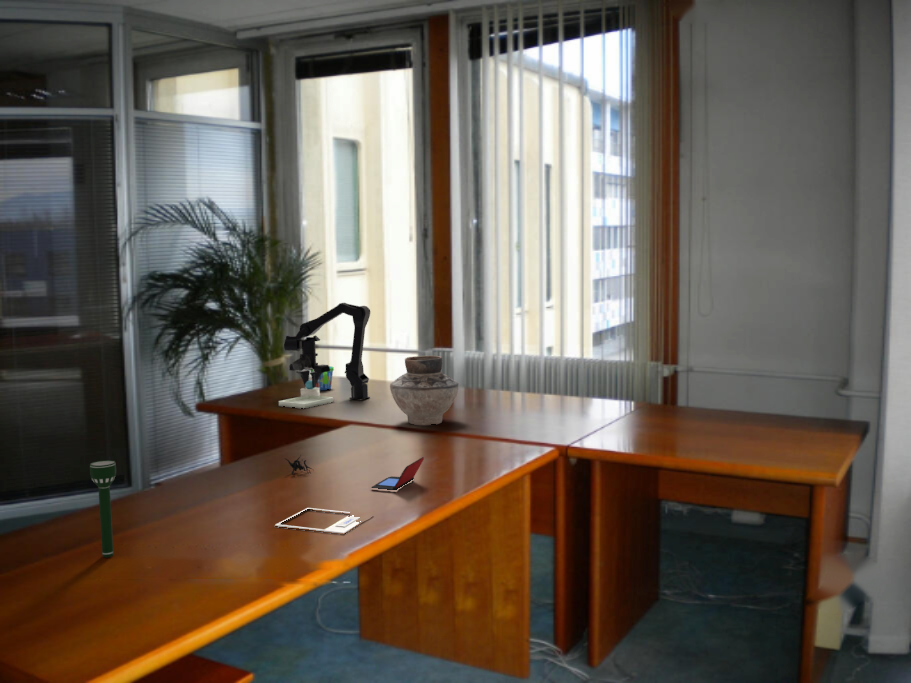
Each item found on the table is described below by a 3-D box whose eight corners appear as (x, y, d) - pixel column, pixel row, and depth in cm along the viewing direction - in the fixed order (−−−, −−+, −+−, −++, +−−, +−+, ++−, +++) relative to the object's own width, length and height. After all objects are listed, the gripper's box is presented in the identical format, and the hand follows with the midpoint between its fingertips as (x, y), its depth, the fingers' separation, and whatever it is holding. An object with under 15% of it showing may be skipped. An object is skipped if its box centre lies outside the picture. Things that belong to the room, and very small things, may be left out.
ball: (316, 389, 393) (316, 380, 392) (310, 390, 389) (310, 381, 389) (309, 388, 395) (309, 379, 394) (303, 389, 392) (303, 380, 391)
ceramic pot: (381, 427, 324) (380, 361, 321) (402, 415, 348) (400, 353, 345) (449, 430, 318) (448, 362, 316) (465, 417, 342) (465, 353, 340)
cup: (323, 397, 394) (323, 387, 393) (310, 399, 387) (310, 390, 386) (309, 395, 398) (309, 386, 398) (297, 398, 391) (296, 388, 391)
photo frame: (343, 531, 203) (274, 524, 209) (344, 536, 203) (275, 528, 210) (373, 513, 216) (307, 506, 223) (373, 518, 216) (307, 511, 223)
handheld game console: (389, 480, 251) (389, 453, 251) (425, 483, 248) (425, 456, 247) (369, 491, 240) (368, 464, 239) (406, 495, 236) (406, 466, 235)
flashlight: (124, 551, 194) (119, 459, 192) (116, 560, 189) (110, 465, 187) (100, 552, 194) (94, 460, 191) (91, 560, 188) (85, 466, 186)
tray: (334, 402, 380) (333, 397, 379) (304, 408, 365) (303, 403, 365) (309, 399, 387) (309, 394, 387) (278, 406, 373) (278, 401, 372)
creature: (319, 476, 260) (301, 467, 265) (321, 459, 259) (303, 449, 264) (298, 482, 254) (280, 472, 259) (300, 464, 253) (282, 454, 258)
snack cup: (309, 387, 421) (309, 365, 420) (332, 386, 424) (331, 364, 423) (312, 392, 406) (311, 370, 405) (335, 391, 409) (335, 369, 408)
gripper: (279, 352, 389) (281, 388, 391) (312, 354, 379) (313, 391, 380) (297, 349, 398) (299, 385, 400) (330, 351, 388) (331, 388, 389)
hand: (310, 387), depth 392 cm, fingers closed on ball, 4 cm apart
